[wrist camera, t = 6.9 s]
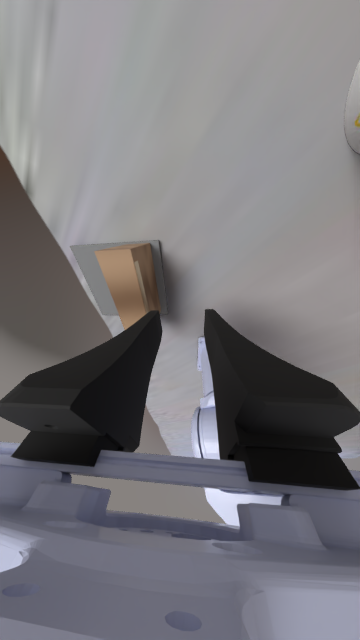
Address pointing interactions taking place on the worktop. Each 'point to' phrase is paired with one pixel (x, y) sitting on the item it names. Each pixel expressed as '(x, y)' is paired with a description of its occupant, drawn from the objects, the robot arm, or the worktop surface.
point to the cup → (353, 112)
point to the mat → (98, 282)
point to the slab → (130, 280)
